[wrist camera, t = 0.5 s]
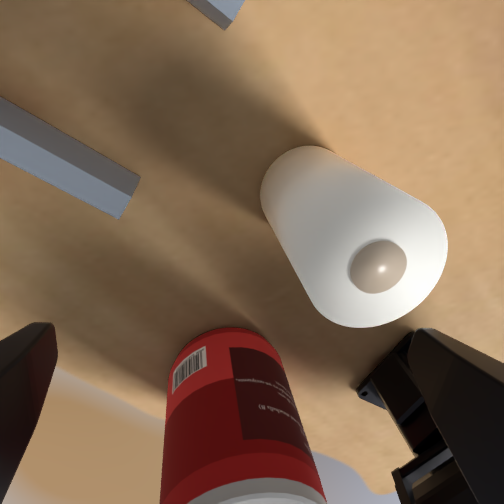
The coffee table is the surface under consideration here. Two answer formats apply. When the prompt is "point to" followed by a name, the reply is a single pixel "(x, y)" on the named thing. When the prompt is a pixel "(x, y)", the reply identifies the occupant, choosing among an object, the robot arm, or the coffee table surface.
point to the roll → (352, 237)
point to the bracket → (80, 144)
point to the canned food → (234, 427)
